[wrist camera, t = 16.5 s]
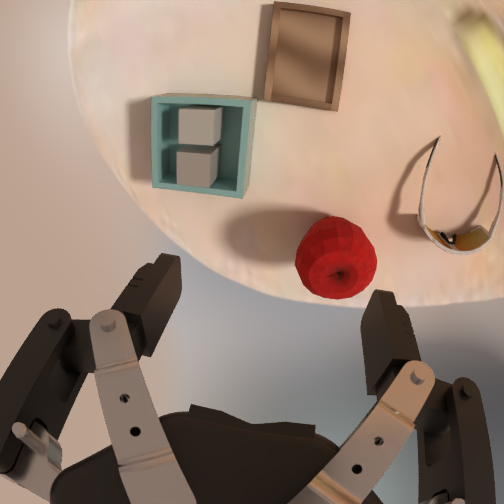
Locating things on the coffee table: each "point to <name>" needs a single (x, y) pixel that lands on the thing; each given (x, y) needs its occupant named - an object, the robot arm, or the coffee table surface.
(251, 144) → the teal open box
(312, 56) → the tray
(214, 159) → the block
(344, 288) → the apple
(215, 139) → the matte taupe cube
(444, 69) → the coffee table surface
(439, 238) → the sunglasses
